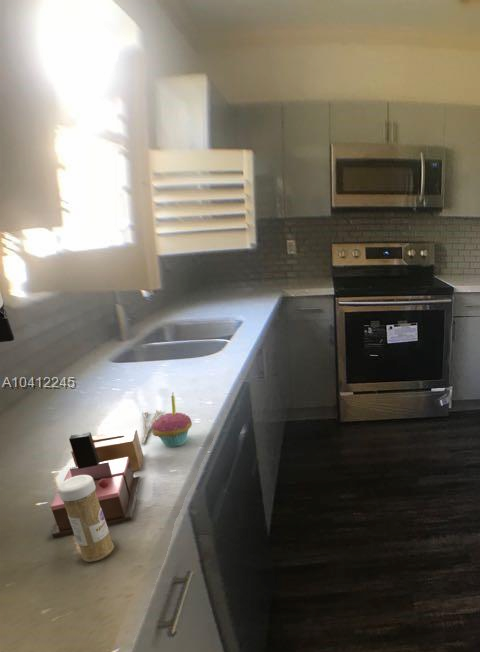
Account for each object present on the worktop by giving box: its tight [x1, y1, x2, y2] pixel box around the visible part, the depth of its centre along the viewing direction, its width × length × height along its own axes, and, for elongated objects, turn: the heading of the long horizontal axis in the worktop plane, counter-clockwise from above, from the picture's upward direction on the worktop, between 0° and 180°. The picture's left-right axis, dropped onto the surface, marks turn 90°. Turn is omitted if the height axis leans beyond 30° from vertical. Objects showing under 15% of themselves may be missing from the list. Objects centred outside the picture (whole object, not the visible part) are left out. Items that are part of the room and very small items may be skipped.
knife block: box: [70, 428, 144, 473], centre depth 96 cm, size 11×6×7 cm, turn 111°
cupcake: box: [151, 392, 193, 448], centre depth 105 cm, size 9×8×12 cm
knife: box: [68, 431, 113, 481], centre depth 82 cm, size 6×2×14 cm, turn 111°
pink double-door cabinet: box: [50, 457, 142, 539], centre depth 84 cm, size 12×14×7 cm
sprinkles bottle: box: [57, 475, 115, 563], centre depth 71 cm, size 5×5×13 cm
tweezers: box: [141, 409, 162, 445], centre depth 115 cm, size 17×5×2 cm, turn 19°
